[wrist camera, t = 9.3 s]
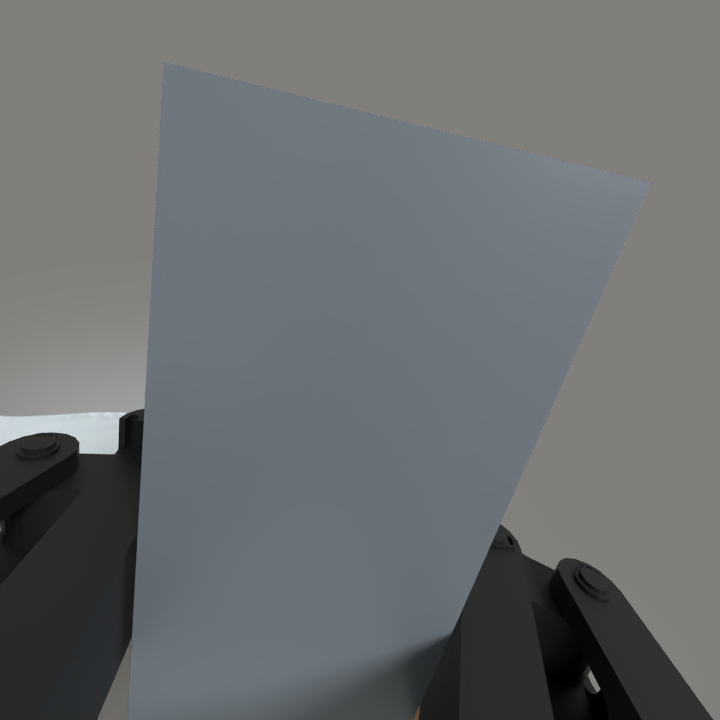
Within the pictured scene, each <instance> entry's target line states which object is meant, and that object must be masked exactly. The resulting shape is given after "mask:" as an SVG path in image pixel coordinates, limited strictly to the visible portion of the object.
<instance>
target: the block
mask: <svg viewBox="0 0 720 720" xmlns="http://www.w3.org/2000/svg"><path fill="white" fill-rule="evenodd" d="M160 121H161V122H160V138H159V156H158V175H157V192H156V210H155V229H154V230H155V231H154V247H153V266H152V283H151V302H150V319H149V339H148V356H147V374H146V392H145V410H144V428H143V446H142V465H141V483H140V501H139V519H138V537H137V555H136V573H135V592H134V610H133V628H132V646H131V664H130V682H129V701H128V719H127V720H414V718H415V716H416V713H417V711H418V709H419V707H420V704H421V702H422V700H423V697H424V695H425V693H426V691H427V688H428V686H429V684H430V682H431V679H432V677H433V675H434V673H435V670H436V668H437V666H438V664H439V661H440V659H441V657H442V654H443V652H444V650H445V648H446V645H447V643H448V641H449V639H450V636H451V634H452V632H453V630H454V627H455V625H456V623H457V621H458V618H459V616H460V614H461V611H462V609H463V607H464V605H465V602H466V600H467V598H468V596H469V593H470V591H471V589H472V587H473V584H474V582H475V580H476V578H477V575H478V573H479V571H480V569H481V566H482V564H483V562H484V559H485V557H486V555H487V553H488V550H489V548H490V546H491V544H492V541H493V539H494V537H495V535H496V532H497V530H498V528H499V526H500V523H501V521H502V518H503V516H504V514H505V512H506V510H507V507H508V505H509V503H510V501H511V498H512V496H513V494H514V492H515V489H516V487H517V485H518V482H519V480H520V478H521V476H522V474H523V471H524V469H525V467H526V464H527V462H528V459H529V457H530V455H531V453H532V451H533V449H534V446H535V444H536V442H537V440H538V437H539V435H540V433H541V431H542V428H543V426H544V423H545V421H546V419H547V417H548V415H549V412H550V410H551V408H552V406H553V403H554V401H555V399H556V396H557V394H558V392H559V390H560V387H561V385H562V383H563V381H564V378H565V376H566V374H567V372H568V369H569V367H570V365H571V363H572V360H573V358H574V356H575V354H576V351H577V349H578V347H579V345H580V342H581V340H582V338H583V335H584V333H585V331H586V329H587V326H588V324H589V322H590V320H591V317H592V315H593V313H594V310H595V308H596V306H597V304H598V302H599V299H600V297H601V295H602V292H603V290H604V288H605V286H606V283H607V281H608V279H609V277H610V274H611V272H612V270H613V268H614V265H615V263H616V261H617V259H618V256H619V254H620V252H621V250H622V247H623V245H624V243H625V241H626V238H627V236H628V234H629V231H630V229H631V227H632V225H633V222H634V220H635V218H636V216H637V213H638V211H639V209H640V207H641V204H642V202H643V200H644V198H645V195H646V193H647V191H648V188H649V186H650V184H651V183H649V182H645V181H641V180H637V179H633V178H628V177H624V176H620V175H616V174H612V173H608V172H604V171H600V170H596V169H592V168H588V167H584V166H580V165H576V164H572V163H568V162H564V161H560V160H556V159H552V158H548V157H544V156H540V155H536V154H532V153H528V152H524V151H520V150H516V149H512V148H508V147H504V146H499V145H495V144H492V143H487V142H483V141H480V140H475V139H472V138H467V137H464V136H460V135H455V134H451V133H447V132H443V131H439V130H435V129H431V128H427V127H423V126H419V125H415V124H411V123H407V122H403V121H399V120H395V119H391V118H387V117H383V116H378V115H375V114H370V113H367V112H363V111H359V110H355V109H351V108H347V107H343V106H339V105H335V104H331V103H327V102H323V101H318V100H315V99H310V98H306V97H302V96H298V95H294V94H290V93H286V92H282V91H278V90H274V89H270V88H266V87H262V86H258V85H254V84H250V83H246V82H242V81H238V80H234V79H230V78H226V77H222V76H218V75H214V74H210V73H206V72H202V71H198V70H194V69H190V68H186V67H181V66H178V65H174V64H170V63H165V62H164V65H163V84H162V102H161V120H160Z"/></svg>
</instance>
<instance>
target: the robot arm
mask: <svg viewBox="0 0 720 720" xmlns="http://www.w3.org/2000/svg"><path fill="white" fill-rule="evenodd" d="M144 410H145V409H142V410H136V411H133V412H130V413H127V414H125V415H124V416H122V417H121V418H119V448H118V451H117V452H116V453H115V454H79V442H78V441H77V439H76V438H75V437H73V436H70V435H68V434H62V433H38V434H34V435H29V436H24V437H21V438H18V439H16V440H13V441H10V442H8V443H6V444H4V445H2V446H0V529H1V531H0V720H97V718H98V716H99V714H100V711H101V709H102V706H103V704H104V702H105V699H106V697H107V694H108V692H109V690H110V687H111V685H112V683H113V680H114V678H115V675H116V673H117V671H118V668H119V666H120V664H121V661H122V659H123V656H124V654H125V652H126V649H127V647H128V645H129V642H130V640H131V637H132V628H133V610H134V592H135V573H136V555H137V537H138V519H139V501H140V483H141V465H142V446H143V428H144ZM590 671H592V673H593V675H594V677H595V679H596V681H597V683H598V685H599V687H600V688H601V689H600V691H599V692H598V693H597V692H596V690H595V689H594V687H593V685H592V684H591V682H590V680H589V677H588V674H589V672H590ZM418 720H713V719H712V718H711V716H710V715H709V713H708V712H707V711H706V709H705V708H704V706H703V705H702V704H701V702H700V701H699V700H698V698H697V697H696V695H695V694H694V693H693V691H692V690H691V688H690V687H689V686H688V684H687V683H686V682H685V680H684V679H683V677H682V676H681V674H680V673H679V672H678V670H677V669H676V668H675V666H674V665H673V663H672V662H671V661H670V659H669V658H668V656H667V655H666V654H665V652H664V651H663V650H662V648H661V647H660V645H659V644H658V643H657V641H656V640H655V639H654V637H653V636H652V634H651V633H650V631H649V630H648V629H647V627H646V626H645V624H644V623H643V622H642V620H641V619H640V617H639V616H638V615H637V613H636V612H635V611H634V609H633V608H632V606H631V605H630V604H629V602H628V601H627V599H626V598H625V597H624V595H623V594H622V592H621V591H620V590H619V589H618V588H617V587H616V586H615V585H614V583H613V582H612V581H611V580H609V579H608V578H607V577H606V576H605V575H603V574H602V573H601V572H600V571H599V570H597V569H596V568H593V567H592V566H590V565H589V564H587V563H584V562H581V561H579V560H576V559H570V558H565V559H563V560H560V561H559V563H558V565H557V567H556V569H555V570H553V569H551V568H549V567H547V566H545V565H543V564H541V563H539V562H537V561H535V560H533V559H531V558H529V557H527V556H525V555H524V554H522V552H521V549H520V546H519V544H518V541H517V540H516V539H515V537H514V536H513V535H512V534H511V533H510V532H509V531H508V530H507V529H506V528H504V527H503V526H502V525H500V526H499V528H498V530H497V532H496V535H495V537H494V539H493V541H492V544H491V546H490V548H489V550H488V553H487V555H486V557H485V559H484V562H483V564H482V566H481V569H480V571H479V573H478V575H477V578H476V580H475V582H474V584H473V587H472V589H471V591H470V593H469V596H468V598H467V600H466V602H465V605H464V607H463V609H462V611H461V614H460V616H459V618H458V621H457V623H456V625H455V627H454V630H453V632H452V634H451V636H450V639H449V641H448V643H447V645H446V648H445V650H444V652H443V654H442V657H441V659H440V661H439V664H438V666H437V668H436V670H435V673H434V675H433V677H432V679H431V682H430V684H429V686H428V688H427V691H426V693H425V695H424V697H423V700H422V702H421V704H420V710H419V718H418Z"/></svg>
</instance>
